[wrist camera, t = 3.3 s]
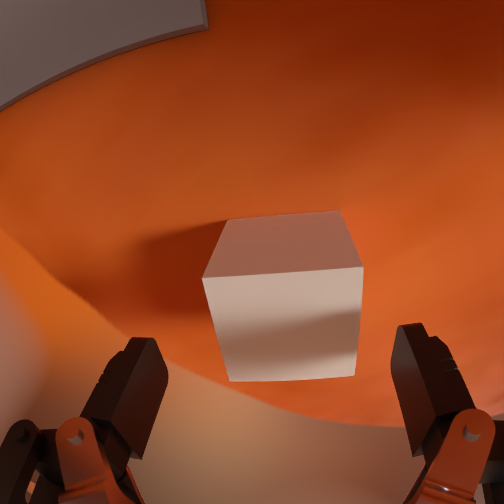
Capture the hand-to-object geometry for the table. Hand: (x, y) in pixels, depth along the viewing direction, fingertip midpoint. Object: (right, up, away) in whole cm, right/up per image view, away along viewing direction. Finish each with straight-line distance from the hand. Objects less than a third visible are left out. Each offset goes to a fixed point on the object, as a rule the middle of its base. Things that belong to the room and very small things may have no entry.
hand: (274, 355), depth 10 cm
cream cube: (+1, +3, +5) cm, 6 cm away
